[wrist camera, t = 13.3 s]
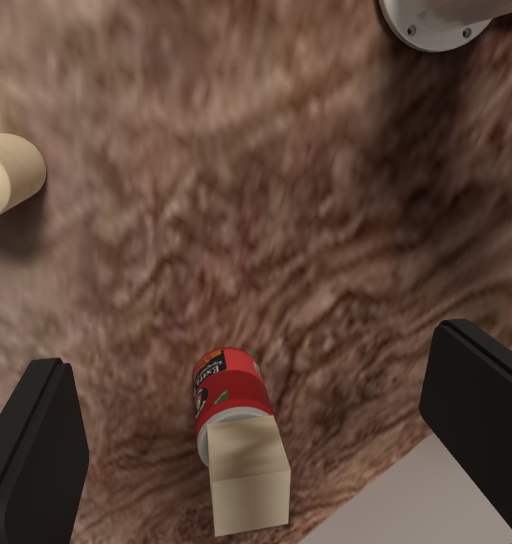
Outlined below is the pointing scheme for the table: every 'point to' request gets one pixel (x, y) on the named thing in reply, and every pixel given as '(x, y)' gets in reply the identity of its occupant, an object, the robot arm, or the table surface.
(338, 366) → the table surface
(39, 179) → the candle
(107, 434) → the table surface
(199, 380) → the canned food
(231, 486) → the birch block
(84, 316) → the table surface
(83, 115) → the table surface
